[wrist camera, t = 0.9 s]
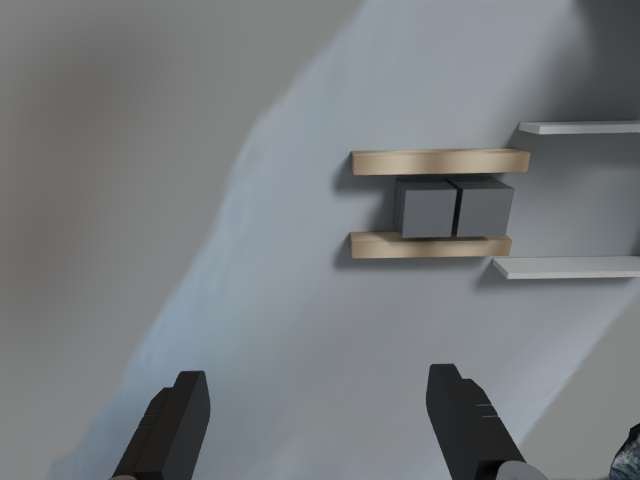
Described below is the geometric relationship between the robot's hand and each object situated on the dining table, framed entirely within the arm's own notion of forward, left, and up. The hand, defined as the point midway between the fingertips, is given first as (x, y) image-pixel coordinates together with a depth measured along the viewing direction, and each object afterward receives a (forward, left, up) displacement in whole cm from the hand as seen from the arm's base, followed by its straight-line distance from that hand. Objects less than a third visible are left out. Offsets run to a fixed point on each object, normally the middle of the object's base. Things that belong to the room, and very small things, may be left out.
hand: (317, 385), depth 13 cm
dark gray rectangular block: (-9, 0, -21) cm, 23 cm away
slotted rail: (-10, 0, -21) cm, 24 cm away
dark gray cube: (-13, 0, -21) cm, 25 cm away
